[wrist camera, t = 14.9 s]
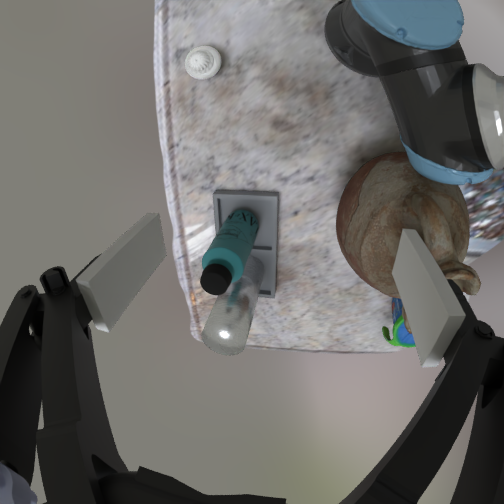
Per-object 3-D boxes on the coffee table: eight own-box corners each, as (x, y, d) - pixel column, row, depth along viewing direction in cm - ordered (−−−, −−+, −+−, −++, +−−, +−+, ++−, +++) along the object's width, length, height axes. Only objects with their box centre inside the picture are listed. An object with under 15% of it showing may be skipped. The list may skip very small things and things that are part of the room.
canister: (264, 256, 58) (244, 327, 41) (264, 284, 61) (246, 357, 44) (230, 253, 59) (198, 321, 42) (232, 281, 62) (204, 351, 45)
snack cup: (424, 264, 53) (439, 294, 44) (442, 293, 55) (456, 323, 47) (367, 304, 60) (373, 337, 52) (390, 328, 63) (397, 359, 54)
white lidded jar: (234, 64, 41) (223, 59, 35) (208, 87, 44) (193, 86, 38) (211, 42, 39) (197, 34, 33) (186, 64, 42) (169, 61, 36)
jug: (360, 266, 56) (378, 394, 31) (310, 175, 49) (302, 271, 24) (452, 223, 47) (525, 329, 21) (414, 122, 40) (519, 165, 14)
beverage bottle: (266, 231, 55) (246, 299, 38) (234, 240, 57) (203, 307, 40) (253, 200, 52) (226, 259, 35) (221, 211, 54) (181, 270, 37)
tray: (278, 192, 51) (277, 196, 49) (275, 291, 63) (274, 298, 61) (216, 190, 53) (212, 194, 51) (224, 286, 65) (221, 292, 63)
